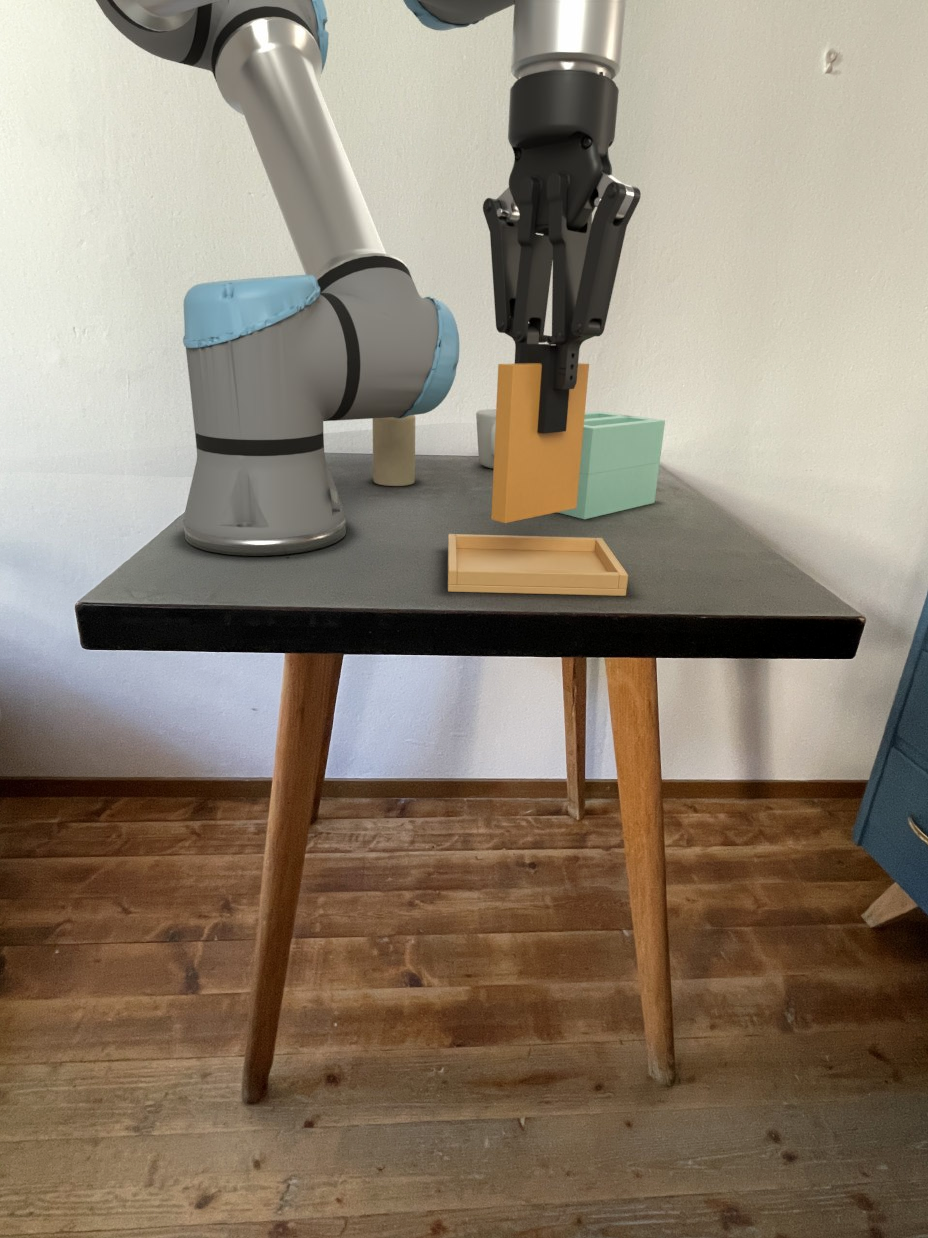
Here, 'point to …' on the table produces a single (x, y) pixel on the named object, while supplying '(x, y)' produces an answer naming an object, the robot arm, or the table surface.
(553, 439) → the orange rectangular panel
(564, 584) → the tray
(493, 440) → the cup
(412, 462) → the candle
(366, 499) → the table surface
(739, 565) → the table surface
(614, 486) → the toaster
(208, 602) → the table surface
